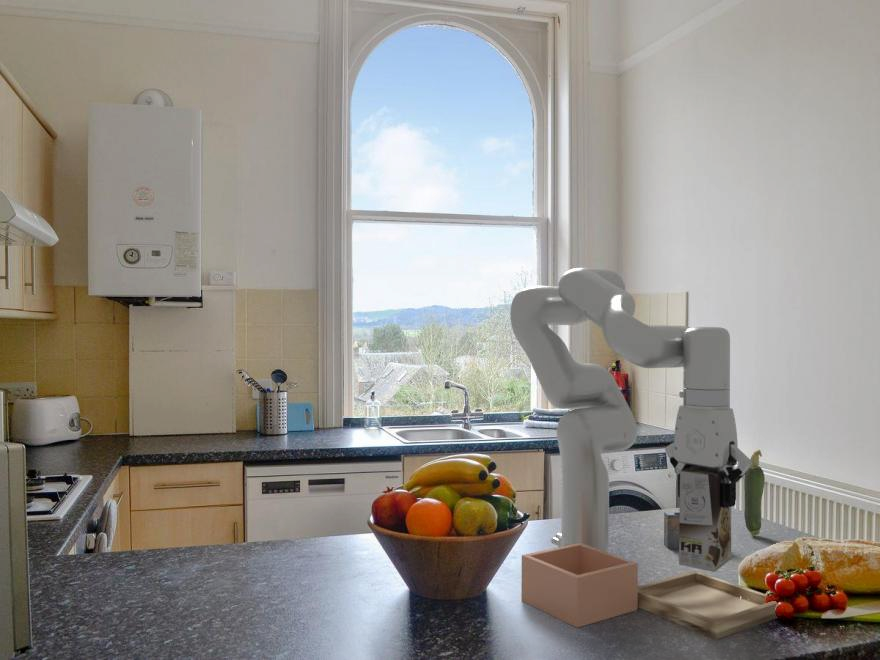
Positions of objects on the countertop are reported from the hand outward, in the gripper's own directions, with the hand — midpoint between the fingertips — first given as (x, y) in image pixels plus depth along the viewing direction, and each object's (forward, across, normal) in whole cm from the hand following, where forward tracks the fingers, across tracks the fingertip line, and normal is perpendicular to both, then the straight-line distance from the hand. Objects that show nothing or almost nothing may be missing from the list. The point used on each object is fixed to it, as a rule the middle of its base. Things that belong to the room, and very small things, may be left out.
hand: (706, 501), depth 128 cm
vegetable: (+19, -23, +48) cm, 56 cm away
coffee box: (+11, 0, 0) cm, 11 cm away
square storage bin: (+19, -13, -17) cm, 28 cm away
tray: (+19, 0, 0) cm, 19 cm away
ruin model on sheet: (+19, -25, +28) cm, 42 cm away
